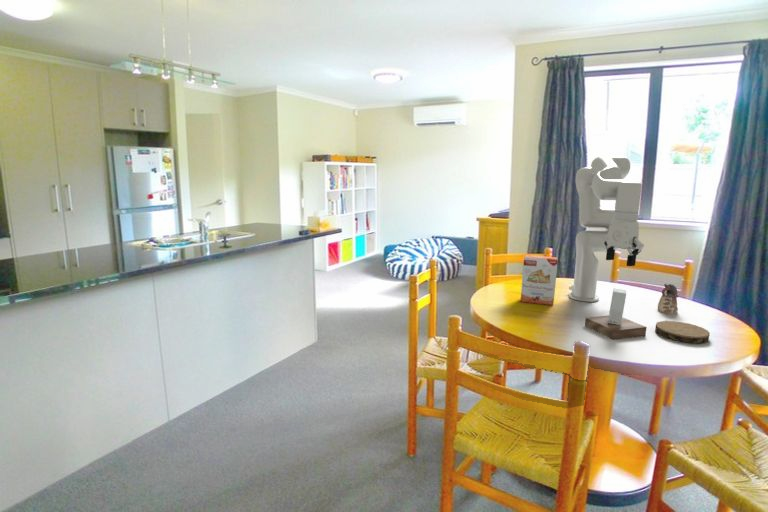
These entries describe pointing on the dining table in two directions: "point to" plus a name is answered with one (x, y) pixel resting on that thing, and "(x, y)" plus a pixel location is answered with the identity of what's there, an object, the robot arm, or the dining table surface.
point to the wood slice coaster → (682, 332)
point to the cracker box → (539, 279)
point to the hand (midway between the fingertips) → (619, 262)
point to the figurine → (668, 300)
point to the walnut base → (615, 327)
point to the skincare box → (617, 306)
